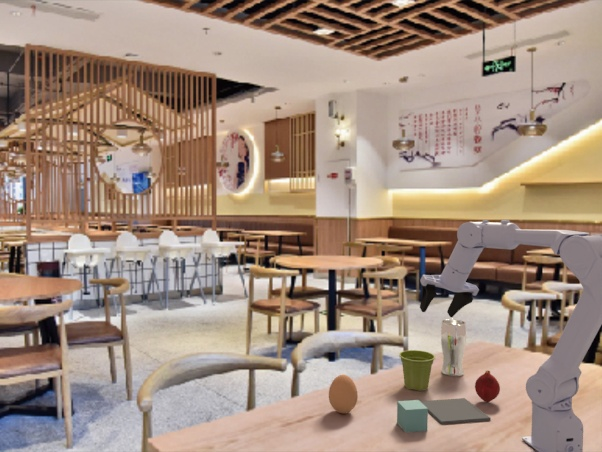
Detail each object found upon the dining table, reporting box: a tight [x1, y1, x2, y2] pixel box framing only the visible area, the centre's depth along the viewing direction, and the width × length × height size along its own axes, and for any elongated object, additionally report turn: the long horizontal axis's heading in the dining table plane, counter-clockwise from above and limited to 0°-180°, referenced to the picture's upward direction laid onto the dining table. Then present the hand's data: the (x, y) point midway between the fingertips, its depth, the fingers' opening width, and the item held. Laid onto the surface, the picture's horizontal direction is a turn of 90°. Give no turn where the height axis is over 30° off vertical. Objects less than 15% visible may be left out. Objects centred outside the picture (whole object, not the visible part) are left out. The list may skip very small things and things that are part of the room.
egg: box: [328, 374, 358, 415], centre depth 123 cm, size 7×7×9 cm
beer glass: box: [440, 318, 467, 377], centre depth 151 cm, size 7×7×15 cm
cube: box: [396, 399, 429, 433], centre depth 115 cm, size 5×5×5 cm
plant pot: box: [398, 349, 436, 392], centre depth 140 cm, size 9×9×9 cm
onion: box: [474, 369, 501, 403], centre depth 130 cm, size 6×6×8 cm
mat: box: [419, 397, 492, 425], centre depth 124 cm, size 12×12×1 cm
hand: (436, 312), depth 129 cm, fingers open, 7 cm apart
